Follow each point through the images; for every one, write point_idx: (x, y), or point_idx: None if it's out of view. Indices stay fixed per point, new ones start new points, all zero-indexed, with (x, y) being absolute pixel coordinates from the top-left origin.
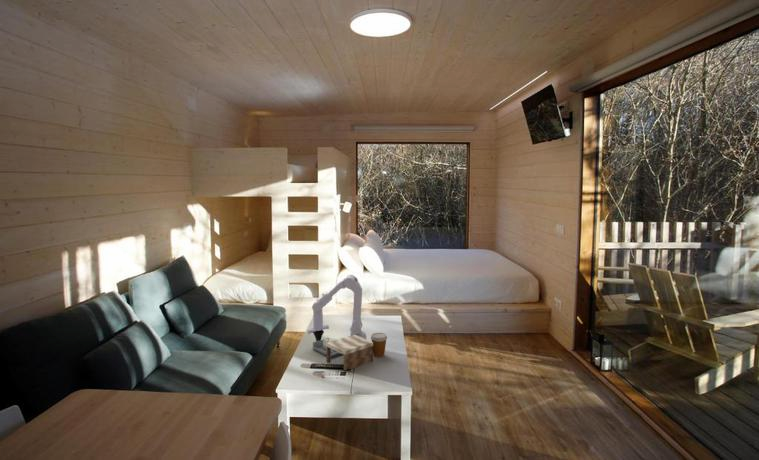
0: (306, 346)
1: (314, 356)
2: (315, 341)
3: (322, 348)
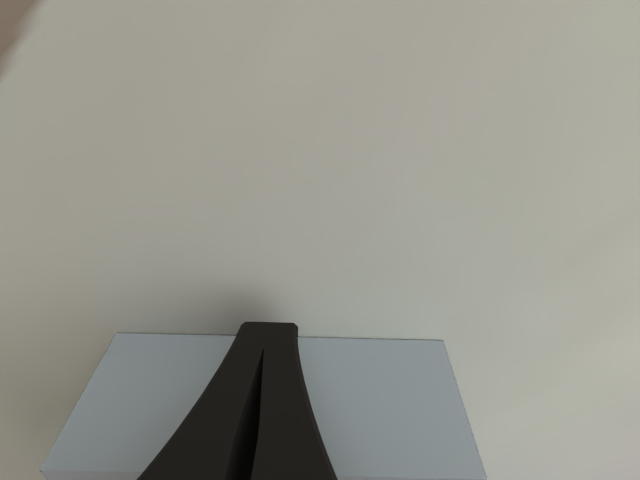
0: (45, 140)
1: None
2: (120, 473)
3: None
